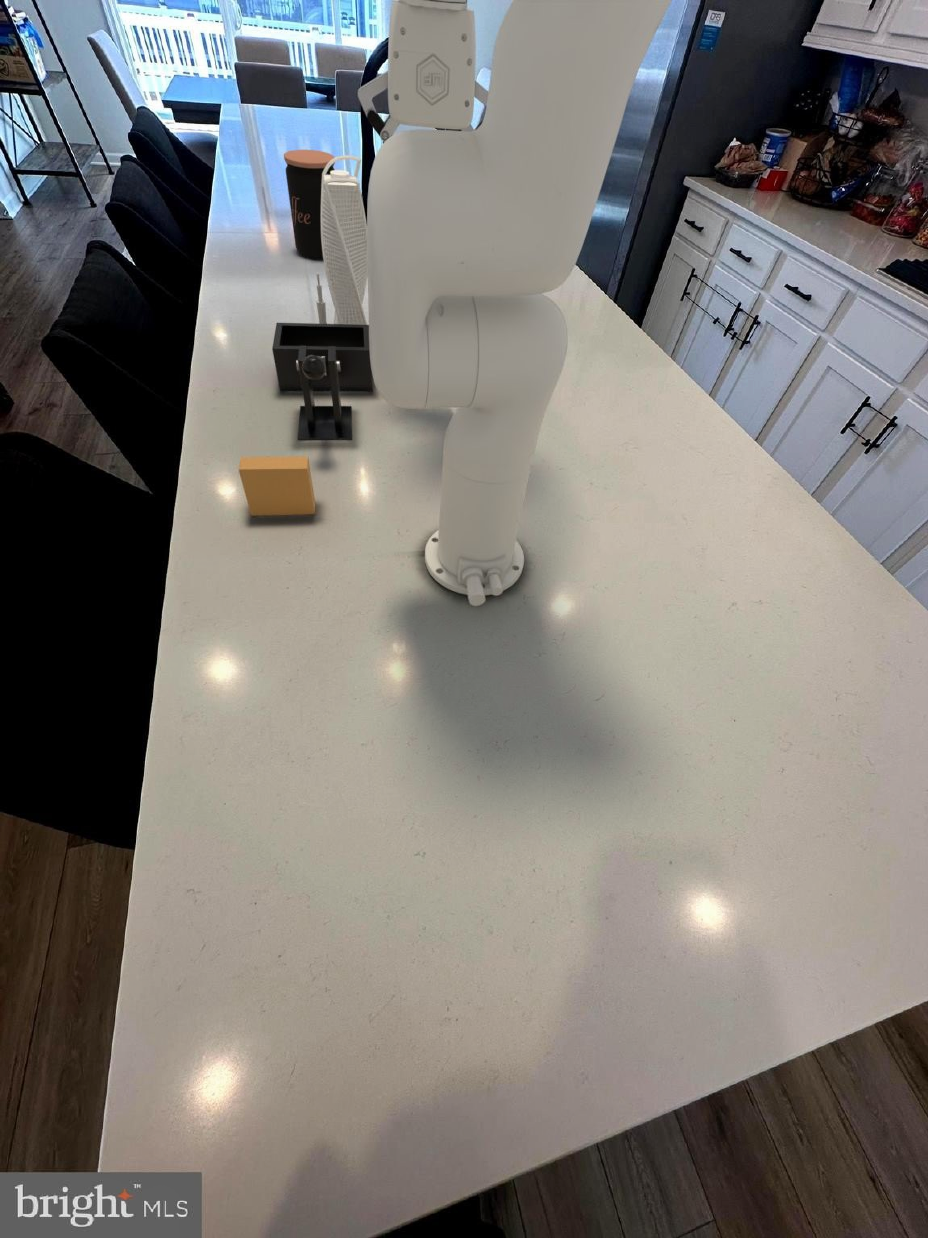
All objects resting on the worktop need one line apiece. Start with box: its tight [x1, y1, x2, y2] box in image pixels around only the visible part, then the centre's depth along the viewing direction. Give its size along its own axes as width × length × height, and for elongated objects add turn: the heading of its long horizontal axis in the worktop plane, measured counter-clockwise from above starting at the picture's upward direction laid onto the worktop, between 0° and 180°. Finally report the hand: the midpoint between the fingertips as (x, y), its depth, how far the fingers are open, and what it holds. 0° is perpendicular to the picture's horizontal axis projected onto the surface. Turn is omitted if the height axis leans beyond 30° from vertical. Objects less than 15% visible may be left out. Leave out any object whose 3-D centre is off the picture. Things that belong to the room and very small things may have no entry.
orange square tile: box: [238, 456, 316, 516], centre depth 71 cm, size 2×8×8 cm, turn 98°
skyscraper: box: [315, 154, 368, 325], centre depth 93 cm, size 8×8×28 cm
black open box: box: [271, 322, 374, 393], centre depth 93 cm, size 9×15×8 cm, turn 98°
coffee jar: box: [283, 149, 336, 261], centre depth 125 cm, size 11×11×18 cm
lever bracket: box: [296, 346, 353, 441], centre depth 82 cm, size 9×8×12 cm
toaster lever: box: [302, 355, 328, 380], centre depth 76 cm, size 11×3×3 cm, turn 8°
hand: (428, 182), depth 73 cm, fingers open, 9 cm apart
